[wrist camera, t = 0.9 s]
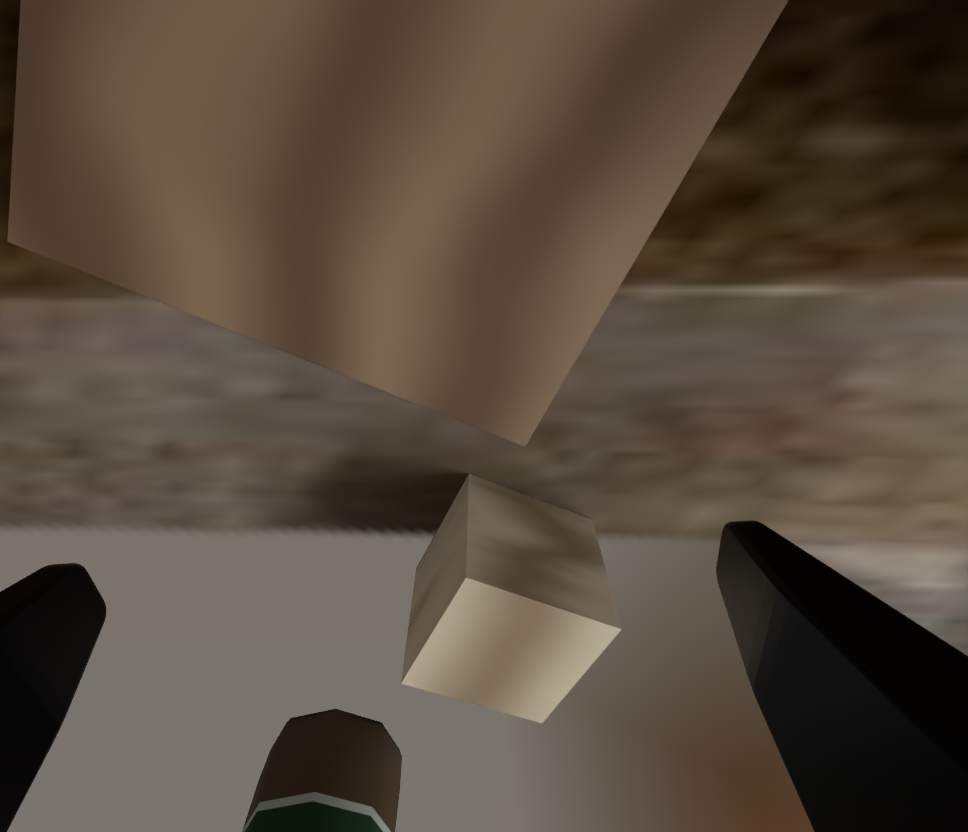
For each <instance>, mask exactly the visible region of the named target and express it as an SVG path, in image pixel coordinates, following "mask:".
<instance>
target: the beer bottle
mask: <svg viewBox="0 0 968 832" xmlns="http://www.w3.org/2000/svg"><path fill="white" fill-rule="evenodd" d="M401 760H402V756H401V753H400V750H399V748H398V747H397V746H396V744H395V742H394V741H393V739H392V738H391V736H390V735H389V733H388V732H387V730H386V729H385V727H384V726H383V724H382V723H381V722H378V721H374V720H371V719H368V718H365V717H361V716H357V715H355V714H351V713H348V712H344V711H341V710H338V709H333V710H328V711H324V712H318V713H314V714H309V715H304V716H299V717H295V718H291V719H290V720H289V721H288V722H287V723H286V725H285V726H284V728H283V730H282V731H281V733H280V735H279V737H278V738H277V740H276V742H275V743H274V745H273V747H272V749H271V751H270V753H269V755H268V758H267V761H266V763H265V766H264V769H263V771H262V774H261V776H260V779H259V782H258V785H257V788H256V791H255V794H254V797H253V800H252V803H251V806H250V809H249V812H248V816H247V818H246V822H245V825H244V828H243V831H242V832H395V826H396V817H397V809H398V800H399V791H400V777H401Z"/></svg>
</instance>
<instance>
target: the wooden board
mask: <svg viewBox="0 0 968 832" xmlns="http://www.w3.org/2000/svg"><path fill="white" fill-rule="evenodd" d="M787 2H788V0H21V2H20V20H19V39H18V57H17V76H16V94H15V112H14V131H13V149H12V168H11V186H10V204H9V223H8V241H7V242H10V243H12V244H15V245H17V246H20V247H22V248H25V249H27V250H30V251H33V252H35V253H38V254H40V255H43V256H45V257H48V258H50V259H53V260H55V261H58V262H60V263H63V264H65V265H68V266H70V267H73V268H75V269H78V270H80V271H83V272H85V273H88V274H91V275H93V276H96V277H98V278H101V279H103V280H106V281H108V282H111V283H113V284H116V285H118V286H121V287H123V288H126V289H128V290H131V291H133V292H136V293H138V294H141V295H143V296H146V297H149V298H151V299H154V300H156V301H159V302H161V303H164V304H166V305H169V306H171V307H174V308H176V309H179V310H181V311H184V312H186V313H189V314H191V315H194V316H196V317H199V318H201V319H204V320H207V321H209V322H212V323H214V324H217V325H219V326H222V327H224V328H227V329H229V330H232V331H234V332H237V333H239V334H242V335H244V336H247V337H249V338H252V339H254V340H257V341H259V342H262V343H265V344H267V345H270V346H272V347H275V348H277V349H280V350H282V351H285V352H287V353H290V354H292V355H295V356H297V357H300V358H302V359H305V360H307V361H310V362H312V363H315V364H317V365H320V366H323V367H325V368H328V369H330V370H333V371H335V372H338V373H340V374H343V375H345V376H348V377H350V378H353V379H355V380H358V381H360V382H363V383H365V384H368V385H370V386H373V387H376V388H378V389H381V390H383V391H386V392H388V393H391V394H393V395H396V396H398V397H401V398H403V399H406V400H408V401H411V402H413V403H416V404H418V405H421V406H423V407H426V408H428V409H431V410H434V411H436V412H439V413H441V414H444V415H446V416H449V417H451V418H454V419H456V420H459V421H461V422H464V423H466V424H469V425H471V426H474V427H476V428H479V429H481V430H484V431H486V432H489V433H492V434H494V435H497V436H499V437H502V438H504V439H507V440H509V441H512V442H514V443H517V444H519V445H522V446H524V447H525V446H526V444H527V442H528V441H529V439H530V437H531V436H532V434H533V432H534V431H535V429H536V427H537V426H538V424H539V422H540V420H541V419H542V417H543V415H544V414H545V412H546V410H547V409H548V407H549V405H550V403H551V402H552V400H553V398H554V397H555V395H556V393H557V392H558V390H559V388H560V387H561V385H562V383H563V381H564V380H565V378H566V376H567V375H568V373H569V371H570V370H571V368H572V366H573V365H574V363H575V361H576V359H577V358H578V356H579V354H580V353H581V351H582V349H583V348H584V346H585V344H586V342H587V341H588V339H589V337H590V336H591V334H592V332H593V331H594V329H595V327H596V326H597V324H598V322H599V320H600V319H601V317H602V315H603V314H604V312H605V310H606V309H607V307H608V305H609V304H610V302H611V300H612V298H613V297H614V295H615V293H616V292H617V290H618V288H619V287H620V285H621V283H622V281H623V280H624V278H625V276H626V275H627V273H628V271H629V270H630V268H631V266H632V265H633V263H634V261H635V259H636V258H637V256H638V254H639V253H640V251H641V249H642V248H643V246H644V244H645V243H646V241H647V239H648V237H649V236H650V234H651V232H652V231H653V229H654V227H655V226H656V224H657V222H658V220H659V219H660V217H661V215H662V214H663V212H664V210H665V209H666V207H667V205H668V204H669V202H670V200H671V198H672V197H673V195H674V193H675V192H676V190H677V188H678V187H679V185H680V183H681V182H682V180H683V178H684V176H685V175H686V173H687V171H688V170H689V168H690V166H691V165H692V163H693V161H694V159H695V158H696V156H697V154H698V153H699V151H700V149H701V148H702V146H703V144H704V143H705V141H706V139H707V137H708V136H709V134H710V132H711V131H712V129H713V127H714V126H715V124H716V122H717V121H718V119H719V117H720V115H721V114H722V112H723V110H724V109H725V107H726V105H727V104H728V102H729V100H730V99H731V97H732V95H733V93H734V92H735V90H736V88H737V87H738V85H739V83H740V82H741V80H742V78H743V76H744V75H745V73H746V71H747V70H748V68H749V66H750V65H751V63H752V61H753V60H754V58H755V56H756V54H757V53H758V51H759V49H760V48H761V46H762V44H763V43H764V41H765V39H766V38H767V36H768V34H769V32H770V31H771V29H772V27H773V26H774V24H775V22H776V21H777V19H778V17H779V15H780V14H781V12H782V10H783V9H784V7H785V5H786V4H787Z"/></svg>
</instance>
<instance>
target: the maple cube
mask: <svg viewBox="0 0 968 832" xmlns="http://www.w3.org/2000/svg"><path fill="white" fill-rule="evenodd" d="M620 631H621V625H620V621H619V618H618V614H617V610H616V606H615V603H614V599H613V595H612V591H611V588H610V584H609V580H608V577H607V573H606V569H605V566H604V562H603V558H602V554H601V550H600V547H599V543H598V539H597V536H596V532H595V528H594V524H593V521H592V520H591V519H589V518H586V517H583V516H581V515H578V514H575V513H573V512H570V511H567V510H565V509H562V508H559V507H557V506H554V505H551V504H549V503H546V502H543V501H541V500H538V499H536V498H533V497H530V496H528V495H525V494H522V493H520V492H517V491H514V490H512V489H509V488H506V487H504V486H501V485H498V484H496V483H493V482H490V481H488V480H485V479H482V478H480V477H477V476H475V475H472V474H468V476H467V478H466V480H465V481H464V483H463V485H462V487H461V489H460V491H459V492H458V494H457V496H456V498H455V500H454V501H453V503H452V505H451V507H450V509H449V511H448V512H447V514H446V516H445V518H444V520H443V522H442V523H441V525H440V527H439V529H438V531H437V532H436V534H435V536H434V537H433V539H432V541H431V542H430V544H429V546H428V548H427V550H426V552H425V554H424V555H423V557H422V559H421V561H420V562H419V564H418V566H417V568H416V575H415V582H414V590H413V597H412V605H411V612H410V620H409V627H408V635H407V642H406V650H405V657H404V665H403V672H402V680H401V684H404V685H408V686H411V687H415V688H418V689H422V690H425V691H429V692H433V693H436V694H440V695H444V696H447V697H450V698H454V699H458V700H461V701H465V702H468V703H472V704H475V705H479V706H482V707H486V708H489V709H493V710H496V711H500V712H504V713H507V714H511V715H514V716H518V717H521V718H525V719H529V720H532V721H536V722H539V723H543V722H544V720H545V719H546V718H547V717H548V715H549V714H550V713H551V712H552V711H553V710H554V709H555V707H556V706H557V705H558V704H559V703H560V701H561V700H562V699H563V698H564V697H565V696H566V694H567V693H568V692H569V691H570V690H571V688H572V687H573V686H574V685H575V684H576V683H577V681H578V680H579V679H580V678H581V677H582V675H583V674H584V673H585V672H586V671H587V670H588V668H589V667H590V666H591V665H592V664H593V662H594V661H595V660H596V659H597V658H598V657H599V655H600V654H601V653H602V652H603V651H604V650H605V648H606V647H607V646H608V645H609V643H610V642H611V641H612V640H613V639H614V638H615V637H616V635H617V634H618V633H619V632H620Z"/></svg>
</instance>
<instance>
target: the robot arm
mask: <svg viewBox="0 0 968 832" xmlns="http://www.w3.org/2000/svg"><path fill="white" fill-rule="evenodd" d="M716 573H717V580H718V584H719V588H720V591H721V594H722V597H723V600H724V603H725V606H726V609H727V613H728V616H729V618H730V622H731V625H732V628H733V632H734V635H735V638H736V641H737V644H738V647H739V650H740V653H741V657H742V660H743V663H744V666H745V669H746V672H747V675H748V678H749V681H750V684H751V687H752V690H753V692H754V695H755V697H756V700H757V702H758V705H759V707H760V709H761V712H762V714H763V716H764V718H765V721H766V723H767V725H768V728H769V730H770V732H771V734H772V736H773V739H774V741H775V743H776V745H777V748H778V750H779V752H780V754H781V757H782V759H783V761H784V764H785V766H786V768H787V771H788V773H789V775H790V777H791V779H792V782H793V784H794V786H795V788H796V791H797V793H798V795H799V798H800V800H801V802H802V805H803V807H804V809H805V811H806V813H807V816H808V818H809V820H810V823H811V825H812V827H813V829H814V832H968V656H967V655H965V654H964V653H962V652H961V651H959V650H958V649H956V648H954V647H953V646H951V645H950V644H948V643H947V642H945V641H944V640H942V639H940V638H939V637H937V636H936V635H934V634H933V633H931V632H930V631H928V630H927V629H925V628H923V627H922V626H920V625H919V624H917V623H916V622H914V621H913V620H911V619H909V618H908V617H906V616H905V615H903V614H902V613H900V612H899V611H897V610H895V609H894V608H892V607H891V606H889V605H888V604H886V603H885V602H883V601H882V600H880V599H878V598H877V597H875V596H874V595H872V594H871V593H869V592H868V591H866V590H864V589H863V588H861V587H860V586H858V585H857V584H855V583H854V582H852V581H851V580H849V579H847V578H846V577H844V576H843V575H841V574H840V573H838V572H837V571H835V570H833V569H832V568H830V567H829V566H827V565H826V564H824V563H823V562H821V561H819V560H818V559H816V558H815V557H813V556H812V555H810V554H809V553H807V552H806V551H804V550H802V549H801V548H799V547H798V546H796V545H795V544H793V543H792V542H790V541H788V540H787V539H785V538H784V537H782V536H781V535H779V534H778V533H776V532H775V531H773V530H771V529H770V528H768V527H767V526H765V525H764V524H762V523H760V522H758V521H752V520H751V521H735V522H729V523H727V524H726V525H725V526H724V528H723V531H722V536H721V542H720V548H719V554H718V561H717V567H716ZM105 618H106V605H105V602H104V600H103V598H102V596H101V595H100V593H99V591H98V590H97V588H96V586H95V585H94V582H93V581H92V579H91V577H90V576H89V574H88V572H87V571H86V569H85V568H84V567H83V566H81V565H79V564H76V563H69V564H53V565H49V566H45V567H43V568H41V569H39V570H38V571H36V572H34V573H32V574H31V575H29V576H27V577H26V578H24V579H22V580H20V581H18V582H17V583H15V584H13V585H12V586H10V587H8V588H6V589H5V590H3V591H1V592H0V832H7V830H8V829H9V827H10V825H11V822H12V821H13V819H14V817H15V815H16V813H17V811H18V809H19V807H20V805H21V803H22V802H23V800H24V798H25V796H26V794H27V792H28V790H29V788H30V786H31V784H32V782H33V780H34V778H35V777H36V775H37V773H38V771H39V769H40V767H41V765H42V763H43V761H44V759H45V757H46V755H47V753H48V752H49V750H50V748H51V746H52V744H53V742H54V739H55V738H56V735H57V734H58V731H59V729H60V727H61V725H62V723H63V721H64V718H65V716H66V714H67V711H68V709H69V707H70V704H71V702H72V699H73V697H74V694H75V692H76V690H77V687H78V685H79V682H80V680H81V678H82V675H83V673H84V670H85V668H86V665H87V663H88V660H89V658H90V656H91V653H92V651H93V648H94V646H95V643H96V641H97V639H98V636H99V634H100V631H101V629H102V626H103V624H104V621H105Z"/></svg>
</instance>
